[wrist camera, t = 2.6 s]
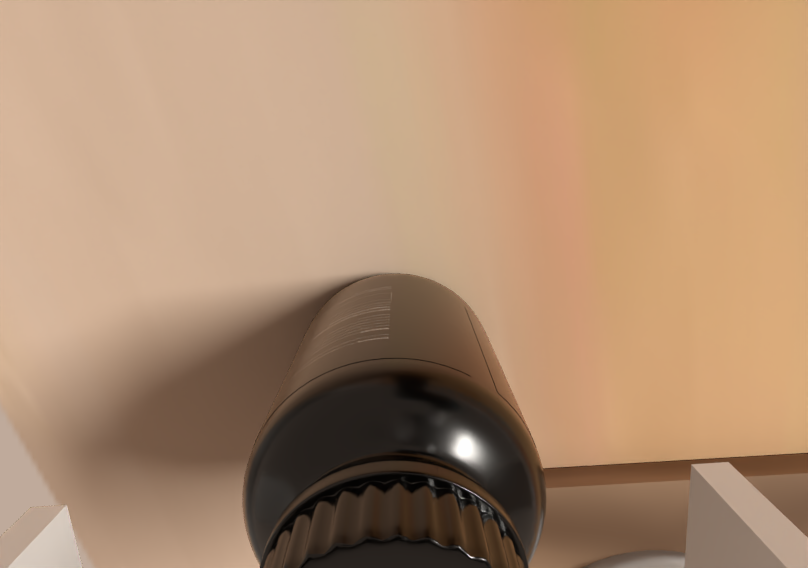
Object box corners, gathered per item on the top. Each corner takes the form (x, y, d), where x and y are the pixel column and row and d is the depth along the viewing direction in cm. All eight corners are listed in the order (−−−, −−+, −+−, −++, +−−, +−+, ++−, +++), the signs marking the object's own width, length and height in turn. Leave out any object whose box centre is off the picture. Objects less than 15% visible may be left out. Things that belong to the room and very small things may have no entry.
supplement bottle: (302, 433, 21) (170, 804, 9) (308, 261, 19) (156, 450, 7) (479, 447, 21) (570, 830, 9) (501, 277, 19) (649, 486, 8)
